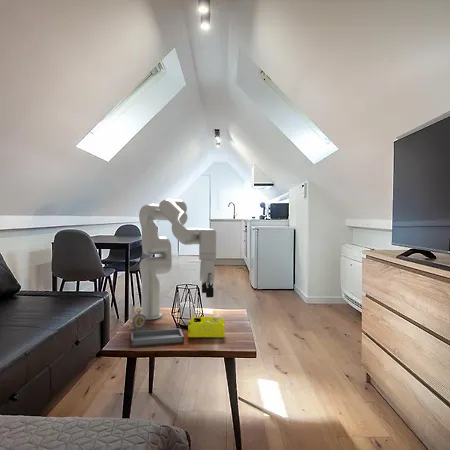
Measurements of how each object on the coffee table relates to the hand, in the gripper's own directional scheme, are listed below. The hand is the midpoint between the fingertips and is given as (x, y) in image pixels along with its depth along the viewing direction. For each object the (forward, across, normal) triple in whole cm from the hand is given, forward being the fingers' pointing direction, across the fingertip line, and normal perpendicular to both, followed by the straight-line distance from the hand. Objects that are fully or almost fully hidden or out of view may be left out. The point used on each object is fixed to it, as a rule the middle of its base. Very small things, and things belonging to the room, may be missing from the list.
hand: (207, 294), depth 158 cm
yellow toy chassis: (+19, 0, 0) cm, 19 cm away
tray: (+19, -1, -22) cm, 29 cm away
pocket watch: (+19, -14, -28) cm, 37 cm away
